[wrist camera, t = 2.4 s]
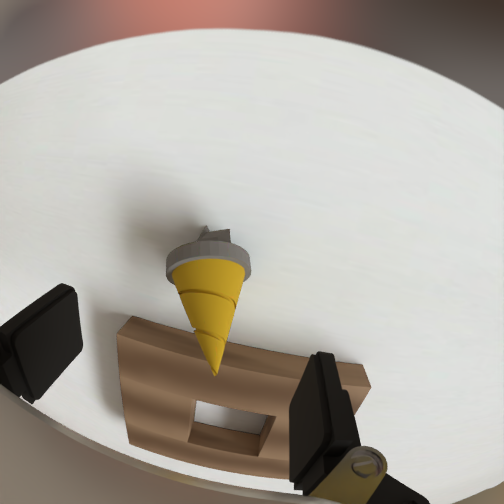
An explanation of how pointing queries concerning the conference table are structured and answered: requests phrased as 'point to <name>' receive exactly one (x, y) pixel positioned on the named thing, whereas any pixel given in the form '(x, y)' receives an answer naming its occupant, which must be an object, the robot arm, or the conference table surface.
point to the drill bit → (209, 287)
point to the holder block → (212, 398)
